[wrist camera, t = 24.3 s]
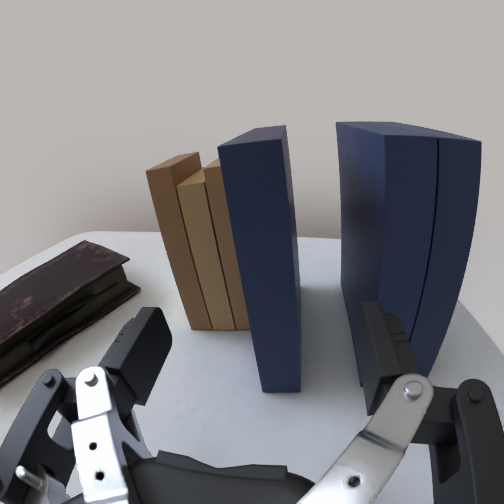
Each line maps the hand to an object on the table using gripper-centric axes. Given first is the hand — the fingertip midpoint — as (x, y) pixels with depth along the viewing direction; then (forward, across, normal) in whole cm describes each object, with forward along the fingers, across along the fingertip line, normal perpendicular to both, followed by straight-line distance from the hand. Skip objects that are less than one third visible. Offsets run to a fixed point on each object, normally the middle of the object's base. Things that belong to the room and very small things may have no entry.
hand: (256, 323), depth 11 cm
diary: (+11, +32, +11) cm, 35 cm away
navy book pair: (+11, -9, +11) cm, 18 cm away
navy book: (+11, 0, +11) cm, 15 cm away
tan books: (+14, +6, +11) cm, 19 cm away
